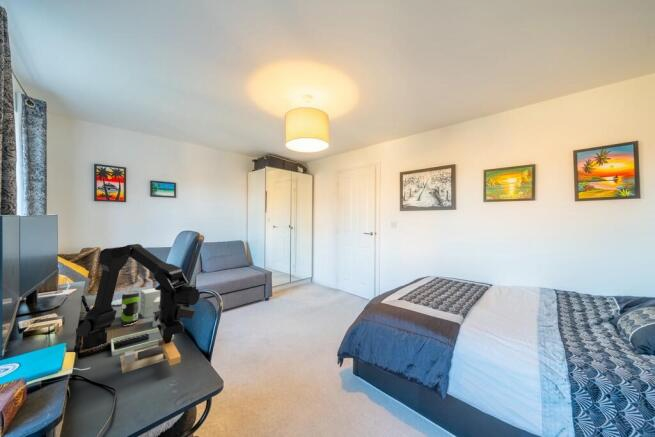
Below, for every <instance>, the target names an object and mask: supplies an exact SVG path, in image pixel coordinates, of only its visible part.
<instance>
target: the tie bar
mask: <svg viewBox="0 0 655 437" xmlns="http://www.w3.org/2000/svg"><path fill="white" fill-rule="evenodd" d="M163 352H164V354H165V356H166V358H167V360H166V361H167V362H168V365H169V366H173V365H176V364H180V363H181V361H182V360H181V359H182V357H181V356H182V355H181V354H180V352H179V351H178V348H177V347H176V345H175V343H174V342H173V341H171V343H167V344H163Z"/></svg>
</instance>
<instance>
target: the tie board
mask: <svg viewBox="0 0 655 437" xmlns="http://www.w3.org/2000/svg"><path fill="white" fill-rule="evenodd" d="M161 338H162V337H161ZM161 338H158V339H157V340H158V344H157V345H153V346H149V347H145V348H142V349H138V350H134V351H135V362H134V363H130V364H127V365H125V362H124V355H125V353H123V354H120V355H119V358H120V360H119V361H120V366H121V372H122V374H125V373H128V372H132V371H135V370H137V369H140V368H144V367H147V366H150V365H154V364H158V363H161V362H164V361H168V360H167V358H166V356H165V354H164V352H162V353H159V354H155V355H152V356H148V357H145V358H141V359H138V352H140V351H144V350H147V349H151V348H155V347H158V346H162V345H163V344H165V343H164V340H163V338H162V339H161ZM171 342H172V341H171ZM171 342H170V343H171Z"/></svg>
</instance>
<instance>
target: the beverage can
mask: <svg viewBox="0 0 655 437" xmlns="http://www.w3.org/2000/svg"><path fill="white" fill-rule="evenodd" d="M139 302H140V293H139V290H128V291H124V292H122V296H121V310H120V311H121V312H120V325H121V326H122V325H127V324H131V323H134V322H136V321H139V306H140V305H139Z"/></svg>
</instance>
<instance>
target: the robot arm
mask: <svg viewBox="0 0 655 437" xmlns="http://www.w3.org/2000/svg"><path fill="white" fill-rule="evenodd" d="M129 258H132V260H134V261H135V262H136V263H139V265H141V266H143V267H144V268H145V269H146V270H148V271H149V272H151V273H152V275H153V279H154V281H156V282H157V283H158V286H156V287H154V288H155V290H160V305H159V307H158V308H159V309H160V311H158V312H156V313H155V314H154V320H155V322H156V321H157V320H159V322H160V324H159V325H157V327H156V328H158V329H159V332H158V333H160V336H161V338H163V340H164V343H165V344H167V343H170V342H172V340H171V339H172V336H173V335H174V336H175V335H177V334H181V333H184V331H185V325H184V323H183V322H181V321H180V320H181V318H182V319H188V320H193V319H194V315H195V313H196V309H195V308H193V307H192V306H195V305H196V304H197V303H198V301H199V300H200V296H201V293H200V290H199V289H198V288H197V285H195V284H191V285H190V284H189V281H188V279H187V278H186V276H185V275H184V273H183V269H182V268H181V267H179V266H177V265H175V264H173V263H168V262H165V261H163V260H162V259H160V258H158V256H156V255H154V254H153V253H151V252H150V251H148V250H147V249H145V248H144V247H143V245H142V244H140V243H135V244H127V245H124V246H117V247H116V246H115V247H108V248H104V249H102V250H101V251H100V252H99V257H98V265H99V267H100V268H101V269H102V271H101V276H100V280H99V284H98V287H97V293H96V295H95V300H94V305H93V306H92V307H91V308H90V309H89V311H88V312H87V313H86V314H85V317H84V319H83V322H82V323H81V324H80V325H79V326H78V327H77V328H76V329H75V333H76V336H78V337H82V343H81V344H82V345H81V350H82V349H83V350H88V349H94V348H93V347H95V348H97V346H98V347H100V346H102V345H101V344H104V343H107V344H108V331H106V330H107V329H109V328H111V326H112V323H114V321H115V320H116V314H117V312H118V311H117V310H115V309H114V307H113V306H112V304H113V299H114V295H115V291H116V287H117V283H118V278H119V274H120V271H121V270H122V269H123V268H124V266H125V265H127V264H128V261H129ZM99 345H100V346H99ZM104 345H105V344H104Z"/></svg>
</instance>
